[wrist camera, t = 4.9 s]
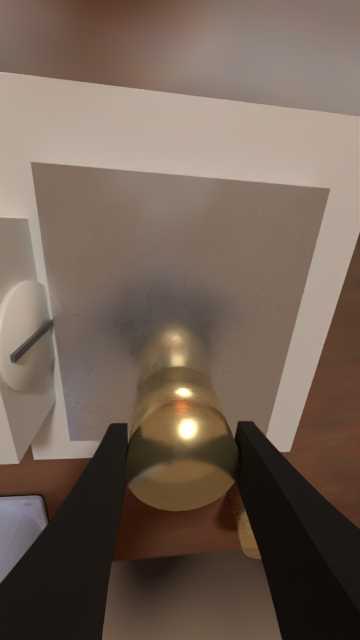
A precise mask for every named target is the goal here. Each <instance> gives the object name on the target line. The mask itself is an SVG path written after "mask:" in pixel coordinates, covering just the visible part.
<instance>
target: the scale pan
mask: <svg viewBox="0 0 360 640" xmlns="http://www.w3.org/2000/svg"><path fill="white" fill-rule="evenodd" d="M31 168H32V175H33V182H34V190H35V197H36V204H37V211H38V218H39V225H40V232H41V239H42V246H43V253H44V260H45V267H46V275H47V282H48V289H49V296H50V303H51V310H52V317H53V324H54V331H55V338H56V345H57V353H58V360H59V367H60V374H61V381H62V388H63V395H64V402H65V409H66V416H67V423H68V431H69V438H70V441H92V440H102V439H103V437H104V435H105V433H106V431H107V429H108V426H109V425H110V424H111V423H128V440H129V436H130V429H131V422H132V415H133V408H134V401H135V396H136V393H137V390H138V388H139V387H140V385H141V384H142V382H143V381H144V380H145V379H146V378H147V377H149V376H150V375H151V374H153V373H155V372H156V371H159V370H161V369H164V368H168V367H176V366H180V367H188V368H192V369H195V370H197V371H199V372H200V373H202V374H203V375H205V376H206V377H207V378H208V379H209V380H210V382H211V383H212V385H213V387H214V389H215V392H216V394H217V397H218V399H219V402H220V404H221V407H222V409H223V412H224V414H225V417H226V419H227V422H228V424H229V427H230V429H231V432H232V435H233V437H235V433H236V428H237V423H238V421H253V422H254V424H255V425H256V426H257V427H258V428H259V429H260V430H261V431H262V433H263V434H264V435H265V436H266V435H267V431H268V427H269V423H270V419H271V415H272V411H273V408H274V404H275V400H276V396H277V392H278V388H279V385H280V381H281V377H282V373H283V369H284V365H285V361H286V358H287V354H288V350H289V346H290V342H291V338H292V335H293V331H294V327H295V323H296V319H297V315H298V311H299V308H300V304H301V300H302V296H303V292H304V288H305V285H306V281H307V277H308V273H309V269H310V265H311V261H312V258H313V254H314V250H315V246H316V242H317V238H318V235H319V231H320V227H321V223H322V219H323V215H324V211H325V208H326V204H327V200H328V196H329V192H330V188H319V187H307V186H296V185H285V184H274V183H263V182H252V181H240V180H229V179H218V178H207V177H196V176H185V175H173V174H162V173H151V172H140V171H129V170H118V169H106V168H95V167H84V166H73V165H62V164H51V163H39V162H31Z"/></svg>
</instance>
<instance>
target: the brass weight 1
mask: <svg viewBox="0 0 360 640" xmlns="http://www.w3.org/2000/svg"><path fill="white" fill-rule="evenodd" d="M239 467H240V453H239V450H238V447H237V445H236V442H235V440H234V437H233V435H232V432H231V429H230V427H229V424H228V422H227V419H226V417H225V414H224V412H223V409H222V407H221V404H220V402H219V399H218V397H217V394H216V392H215V389H214V387H213V385H212V383H211V382H210V380H209V379H208V378H207V377H206V376H205V375H203V374H202V373H200V372H199V371H197V370H195V369H192V368H188V367H180V366H176V367H168V368H164V369H161V370H159V371H156V372H155V373H153V374H151V375H150V376H149V377H147V378H146V379H145V380H144V381H143V382H142V384H141V385H140V387H139V388H138V390H137V393H136V396H135V401H134V408H133V415H132V422H131V429H130V436H129V443H128V449H127V456H126V463H125V478H126V481H127V484H128V486H129V488H130V490H131V491H132V493H133V494H134V495H135V496H136V497H137V498H138V499H140V500H141V501H142V502H144V503H146V504H147V505H150V506H152V507H154V508H158V509H162V510H167V511H186V510H192V509H196V508H200V507H203V506H205V505H208V504H210V503H211V502H213V501H215V500H217V499H218V498H220V497H221V496H222V495H223V494H225V493H226V492H227V491H228V490H229V489H230V487H231V486H232V485H233V483H234V482H235V480H236V478H237V476H238V473H239Z"/></svg>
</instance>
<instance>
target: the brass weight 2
mask: <svg viewBox="0 0 360 640" xmlns="http://www.w3.org/2000/svg"><path fill="white" fill-rule="evenodd" d="M228 496H229V500H230V504H231V508H232V512H233V516H234V519H235V523H236V527H237V531H238V535H239V539H240V543H241V547H242V550H243V552H244V553H245V554H246V555H247V556H249V557H251V558H256V559H261V556H260V553H259V550H258V547H257V544H256V541H255V538H254V535H253V532H252V529H251V526H250V523H249V520H248V517H247V514H246V511H245V508H244V505H243V502H242V499H241V496H240V492H239V489H238V486H237V483H236V480H235V482H234V483H233V485H232V486H231V487H230V489H229V490H228Z"/></svg>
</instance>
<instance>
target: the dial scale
mask: <svg viewBox="0 0 360 640" xmlns="http://www.w3.org/2000/svg"><path fill="white" fill-rule="evenodd" d="M31 162H39V163H51V164H62V165H73V166H84V167H95V168H106V169H118V170H129V171H140V172H151V173H162V174H173V175H185V176H196V177H207V178H218V179H229V180H240V181H252V182H263V183H274V184H285V185H296V186H307V187H319V188H330V192H329V196H328V200H327V204H326V208H325V211H324V215H323V219H322V223H321V227H320V231H319V235H318V238H317V242H316V246H315V250H314V254H313V258H312V261H311V265H310V269H309V273H308V277H307V281H306V285H305V288H304V292H303V296H302V300H301V304H300V308H299V311H298V315H297V319H296V323H295V327H294V331H293V335H292V338H291V342H290V346H289V350H288V354H287V358H286V361H285V365H284V369H283V373H282V377H281V381H280V385H279V388H278V392H277V396H276V400H275V404H274V408H273V411H272V415H271V419H270V423H269V427H268V431H267V435H266V437H267V438H268V439H269V441H270V442H271V443H272V444H273V445H274V446H275V447H276V448H277V450H278V451H279V452H290V449H291V446H292V443H293V440H294V436H295V433H296V430H297V427H298V424H299V421H300V418H301V414H302V411H303V408H304V405H305V402H306V399H307V396H308V392H309V389H310V386H311V383H312V380H313V377H314V374H315V370H316V367H317V364H318V361H319V358H320V355H321V352H322V348H323V345H324V342H325V339H326V336H327V333H328V330H329V326H330V323H331V320H332V317H333V314H334V311H335V308H336V304H337V301H338V298H339V295H340V292H341V289H342V286H343V282H344V279H345V276H346V273H347V270H348V267H349V264H350V260H351V257H352V254H353V251H354V248H355V245H356V242H357V238H358V235H359V232H360V117H359V116H351V115H343V114H335V113H327V112H319V111H311V110H303V109H295V108H287V107H279V106H271V105H263V104H255V103H247V102H239V101H231V100H223V99H214V98H206V97H198V96H190V95H182V94H174V93H166V92H158V91H150V90H142V89H134V88H126V87H118V86H110V85H102V84H94V83H86V82H78V81H70V80H62V79H54V78H46V77H38V76H30V75H22V74H13V73H5V72H0V464H19V463H20V461H21V459H22V458H23V456H24V454H25V452H26V451H27V449H28V447H29V445H30V444H31V447H32V452H33V456H34V460H37V459H70V458H92V457H93V455H94V454H95V452H96V450H97V448H98V446H99V445H100V443H101V441H102V440H92V441H70V438H69V431H68V423H67V416H66V409H65V402H64V395H63V388H62V381H61V374H60V367H59V360H58V353H57V345H56V338H55V331H54V324H53V317H52V310H51V303H50V296H49V289H48V282H47V275H46V267H45V260H44V253H43V246H42V239H41V232H40V225H39V218H38V211H37V204H36V197H35V190H34V182H33V175H32V168H31ZM234 438H235V437H234ZM128 443H129V440H128Z"/></svg>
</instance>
